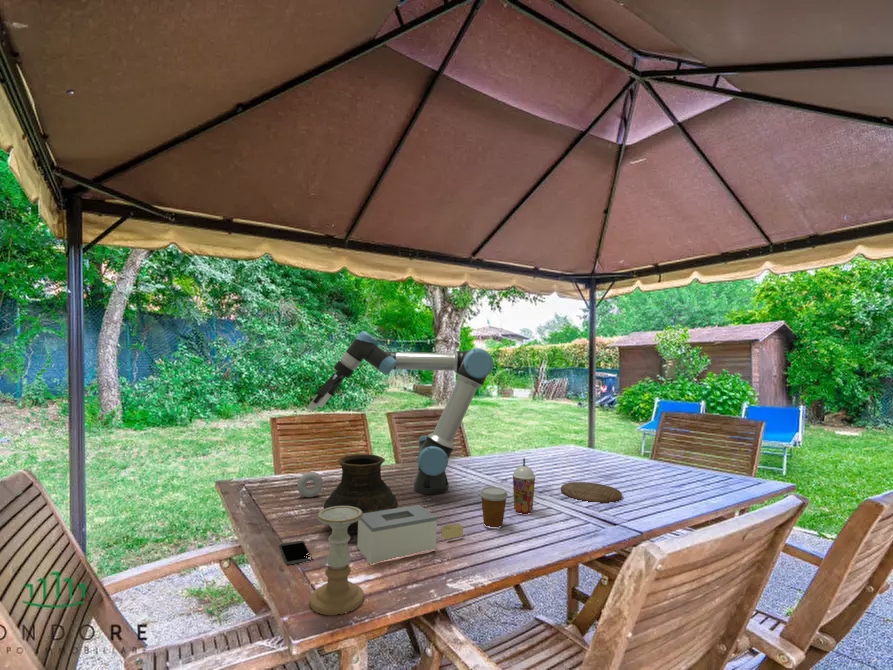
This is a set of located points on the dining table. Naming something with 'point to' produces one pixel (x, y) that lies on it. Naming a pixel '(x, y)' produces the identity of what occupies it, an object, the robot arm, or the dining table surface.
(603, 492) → the trivet
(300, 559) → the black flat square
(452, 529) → the yellow rectangular block
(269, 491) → the dining table surface
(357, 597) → the candle holder
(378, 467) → the ceramic pot
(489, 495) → the disposable coffee cup
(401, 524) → the box
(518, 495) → the smoothie
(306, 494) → the donut
